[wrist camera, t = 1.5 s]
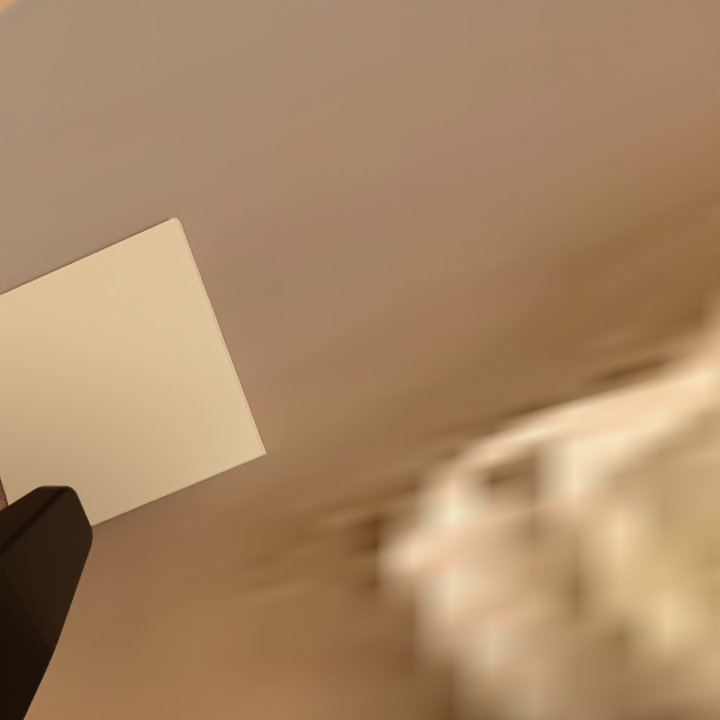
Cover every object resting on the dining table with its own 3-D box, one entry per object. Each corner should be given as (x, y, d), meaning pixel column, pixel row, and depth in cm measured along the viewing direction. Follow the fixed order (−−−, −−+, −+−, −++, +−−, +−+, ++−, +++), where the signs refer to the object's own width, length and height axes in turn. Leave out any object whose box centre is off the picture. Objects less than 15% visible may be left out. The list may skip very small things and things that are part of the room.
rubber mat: (266, 454, 23) (262, 454, 22) (31, 551, 23) (22, 554, 23) (180, 221, 24) (175, 217, 24) (-38, 318, 25) (-47, 316, 24)
